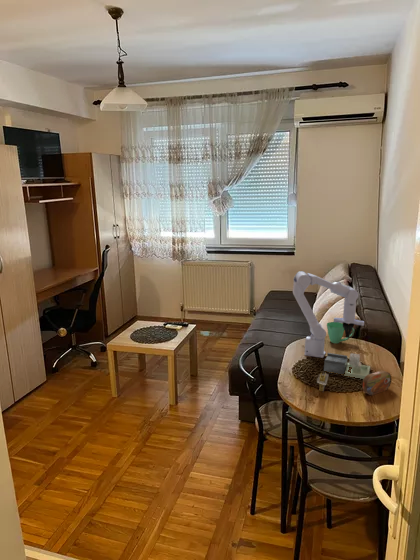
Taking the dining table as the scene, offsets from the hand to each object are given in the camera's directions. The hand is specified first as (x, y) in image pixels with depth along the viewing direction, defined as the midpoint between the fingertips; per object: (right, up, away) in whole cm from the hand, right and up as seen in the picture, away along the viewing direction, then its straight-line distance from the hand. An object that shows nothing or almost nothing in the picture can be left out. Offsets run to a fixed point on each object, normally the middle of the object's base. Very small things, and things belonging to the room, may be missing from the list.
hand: (347, 337), depth 207 cm
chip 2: (-5, -11, -19) cm, 22 cm away
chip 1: (-4, -9, -20) cm, 22 cm away
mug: (+2, -6, +19) cm, 20 cm away
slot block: (-11, -13, -16) cm, 23 cm away
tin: (-1, -18, -36) cm, 41 cm away
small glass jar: (-22, -18, -33) cm, 44 cm away
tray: (-2, -14, -20) cm, 24 cm away
